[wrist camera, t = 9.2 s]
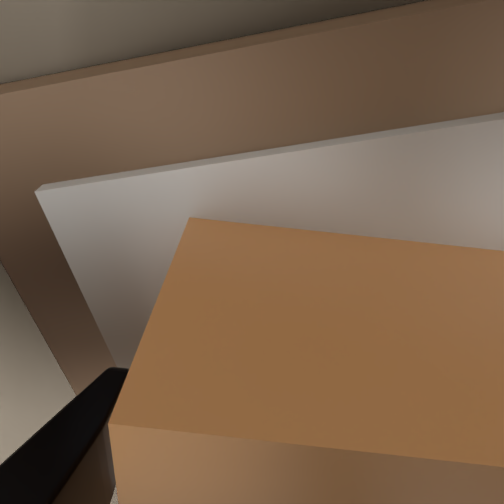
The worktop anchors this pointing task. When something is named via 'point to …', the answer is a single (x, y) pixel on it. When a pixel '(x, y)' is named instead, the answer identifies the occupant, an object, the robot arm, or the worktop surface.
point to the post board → (245, 158)
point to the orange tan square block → (316, 373)
